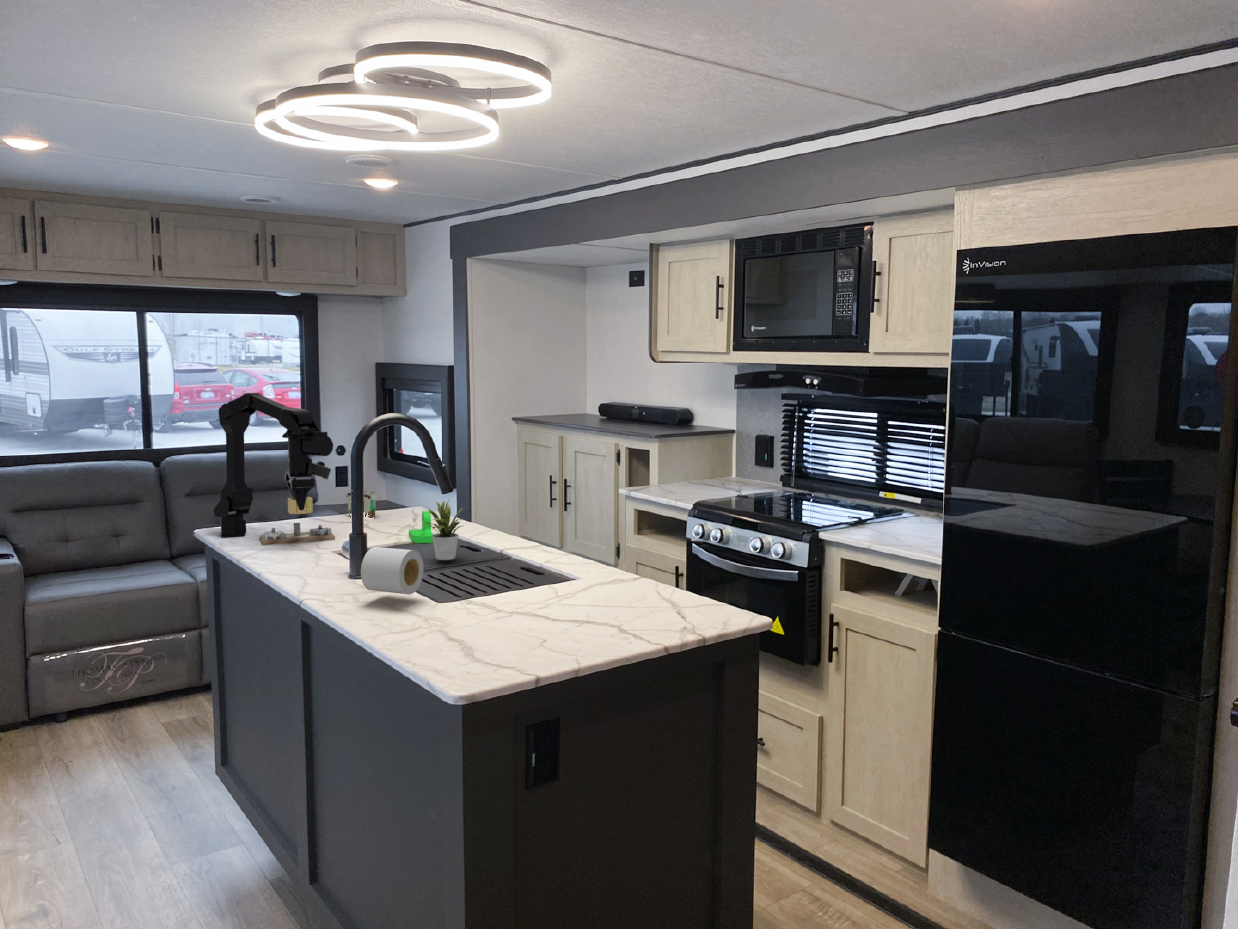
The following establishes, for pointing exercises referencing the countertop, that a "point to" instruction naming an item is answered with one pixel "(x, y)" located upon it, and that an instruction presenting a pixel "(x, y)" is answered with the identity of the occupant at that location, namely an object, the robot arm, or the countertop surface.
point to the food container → (365, 502)
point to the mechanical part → (422, 530)
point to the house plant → (444, 533)
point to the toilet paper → (392, 570)
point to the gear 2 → (320, 531)
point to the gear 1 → (273, 534)
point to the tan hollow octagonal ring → (295, 510)
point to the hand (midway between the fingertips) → (300, 508)
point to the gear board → (296, 537)
